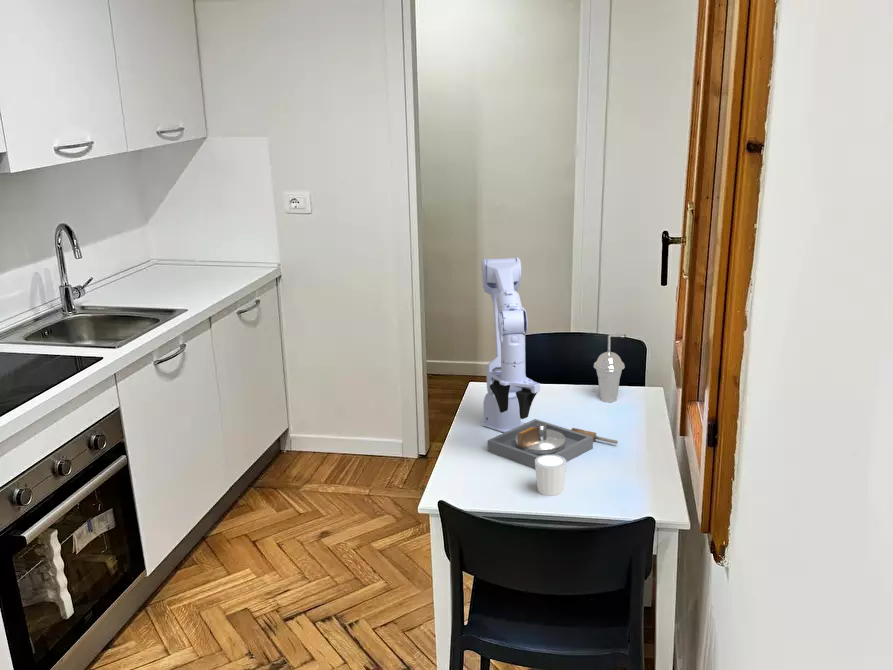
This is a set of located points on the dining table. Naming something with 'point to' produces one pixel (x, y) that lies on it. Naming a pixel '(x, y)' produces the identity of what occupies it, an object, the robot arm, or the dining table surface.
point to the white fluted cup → (550, 474)
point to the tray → (507, 449)
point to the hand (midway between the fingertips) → (513, 414)
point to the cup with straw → (609, 373)
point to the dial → (540, 440)
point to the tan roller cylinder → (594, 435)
